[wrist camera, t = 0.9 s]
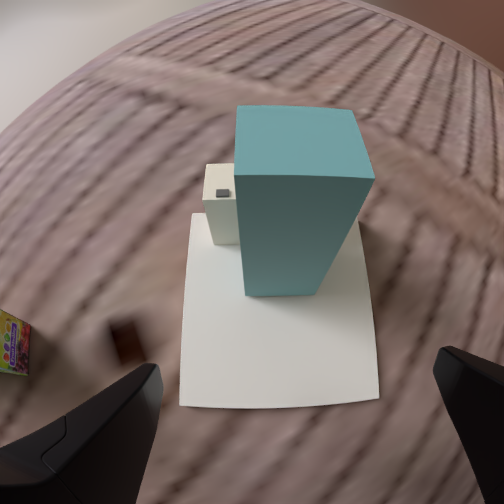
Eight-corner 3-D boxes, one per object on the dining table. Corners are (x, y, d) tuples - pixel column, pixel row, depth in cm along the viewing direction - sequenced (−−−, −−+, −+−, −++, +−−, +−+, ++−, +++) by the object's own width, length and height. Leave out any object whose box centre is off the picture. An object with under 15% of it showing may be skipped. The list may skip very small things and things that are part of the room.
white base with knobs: (374, 398, 19) (421, 396, 13) (182, 404, 19) (150, 409, 13) (353, 219, 26) (378, 165, 20) (194, 219, 26) (177, 163, 20)
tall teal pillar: (314, 294, 22) (375, 178, 10) (245, 296, 22) (233, 175, 10) (310, 245, 23) (351, 110, 12) (245, 246, 23) (237, 105, 12)
